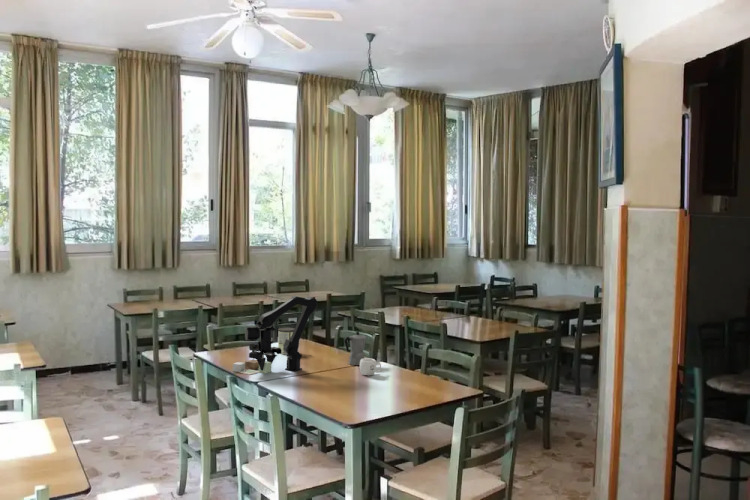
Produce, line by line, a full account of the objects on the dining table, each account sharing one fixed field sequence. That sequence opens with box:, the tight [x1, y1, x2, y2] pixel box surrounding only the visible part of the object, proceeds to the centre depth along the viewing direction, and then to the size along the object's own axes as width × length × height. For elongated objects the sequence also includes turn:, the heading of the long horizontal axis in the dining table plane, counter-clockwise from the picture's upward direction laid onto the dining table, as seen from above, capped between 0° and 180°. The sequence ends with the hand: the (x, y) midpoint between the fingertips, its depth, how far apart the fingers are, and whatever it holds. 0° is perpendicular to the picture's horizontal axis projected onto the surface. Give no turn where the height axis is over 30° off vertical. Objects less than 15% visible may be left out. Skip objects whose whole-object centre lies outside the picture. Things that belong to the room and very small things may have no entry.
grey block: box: [232, 361, 246, 373], centre depth 330 cm, size 4×4×4 cm
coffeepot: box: [343, 331, 368, 366], centre depth 352 cm, size 15×9×18 cm, turn 129°
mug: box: [359, 357, 382, 376], centre depth 330 cm, size 12×8×8 cm
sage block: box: [258, 360, 273, 374], centre depth 329 cm, size 4×4×5 cm
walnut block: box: [244, 358, 259, 371], centre depth 336 cm, size 6×6×4 cm
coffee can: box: [277, 326, 295, 355], centre depth 377 cm, size 10×10×14 cm
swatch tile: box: [239, 369, 261, 376], centre depth 327 cm, size 7×7×1 cm
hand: (265, 369), depth 329 cm, fingers closed on sage block, 4 cm apart
